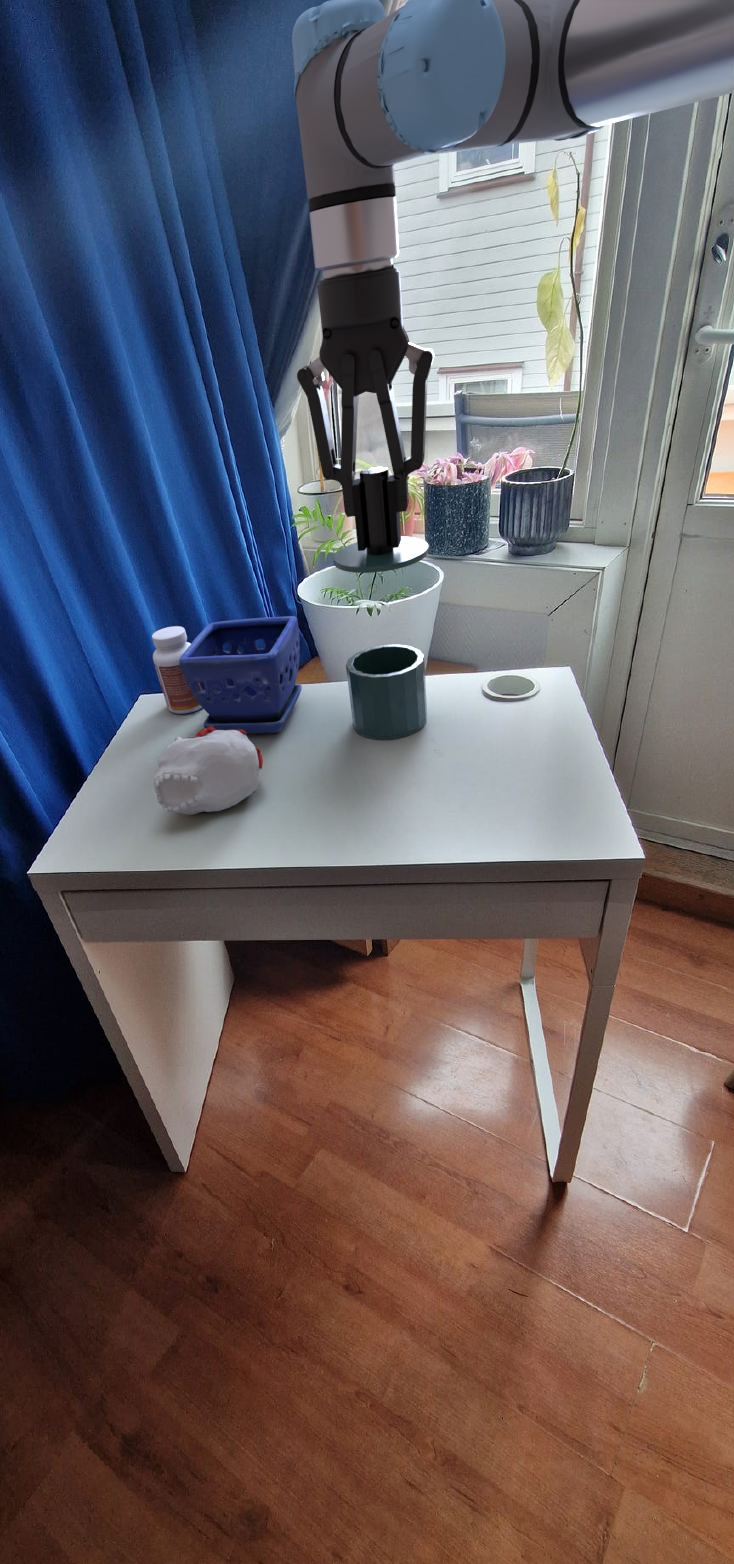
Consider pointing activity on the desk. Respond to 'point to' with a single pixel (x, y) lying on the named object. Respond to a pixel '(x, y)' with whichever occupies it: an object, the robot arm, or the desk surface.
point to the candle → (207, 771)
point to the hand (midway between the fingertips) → (379, 545)
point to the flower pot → (245, 673)
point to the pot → (387, 691)
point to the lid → (378, 532)
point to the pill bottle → (173, 669)
